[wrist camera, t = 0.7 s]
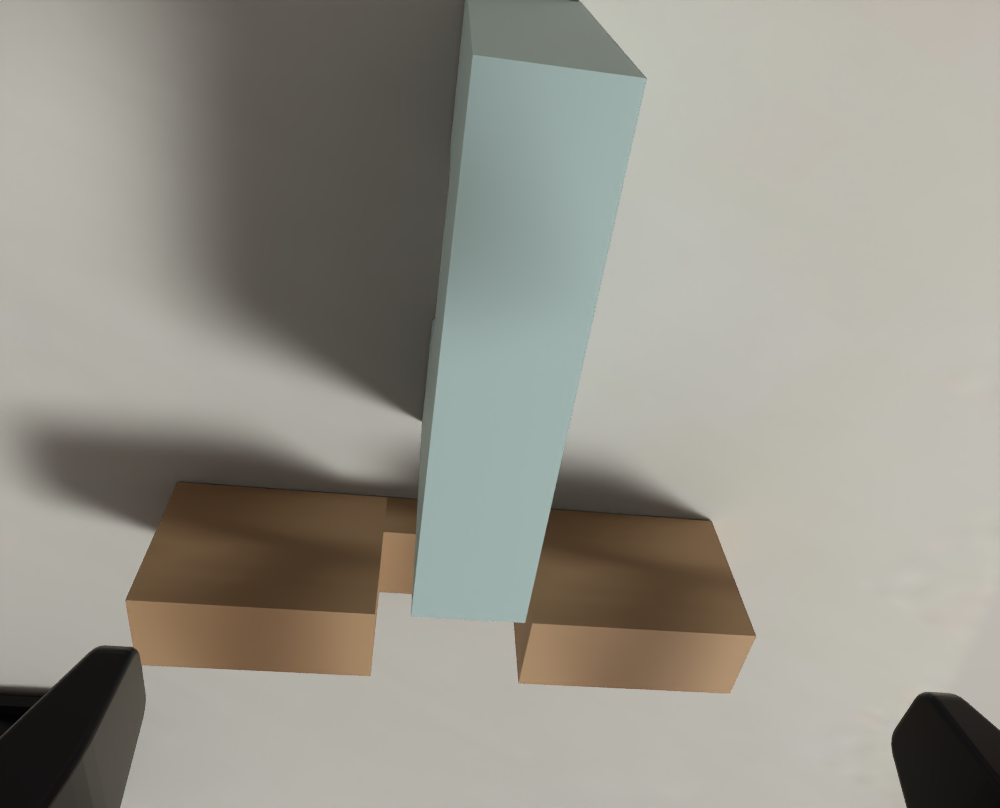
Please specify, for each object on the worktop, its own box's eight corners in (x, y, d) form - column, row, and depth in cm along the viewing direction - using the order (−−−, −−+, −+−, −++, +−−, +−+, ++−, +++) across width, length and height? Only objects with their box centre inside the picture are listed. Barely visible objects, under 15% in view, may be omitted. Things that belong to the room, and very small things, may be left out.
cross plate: (422, 422, 23) (410, 616, 17) (466, -15, 17) (472, 54, 11) (507, 429, 23) (525, 623, 17) (581, 2, 17) (646, 78, 11)
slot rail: (184, 543, 25) (136, 664, 21) (177, 482, 24) (125, 600, 20) (691, 576, 27) (730, 693, 23) (711, 521, 25) (756, 636, 22)
